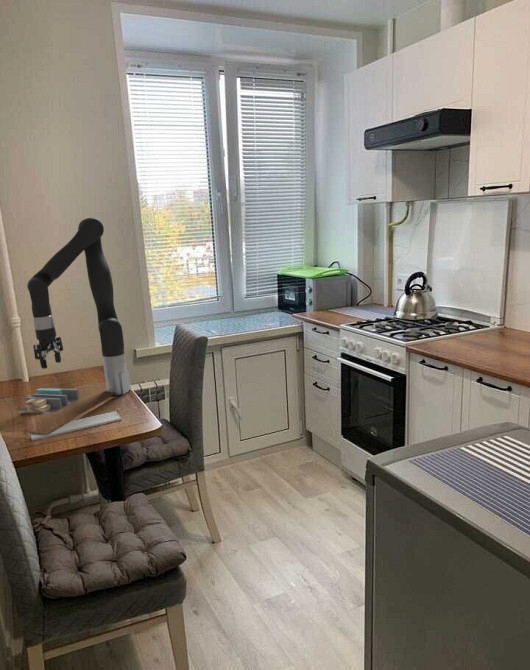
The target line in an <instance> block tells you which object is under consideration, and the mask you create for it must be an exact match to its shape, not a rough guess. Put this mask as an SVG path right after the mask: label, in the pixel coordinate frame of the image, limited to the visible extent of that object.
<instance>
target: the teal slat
mask: <svg viewBox="0 0 530 670" xmlns="http://www.w3.org/2000/svg"><path fill="white" fill-rule="evenodd" d="M62 389H63V388H56V389H46V388H43V387H42V388H38V389H36V394H52V395H63V394H62Z"/></svg>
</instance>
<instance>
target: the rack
mask: <svg viewBox="0 0 530 670" xmlns="http://www.w3.org/2000/svg"><path fill="white" fill-rule="evenodd" d="M45 389H57V388H55V387H54V388H53V387H52V388H51V387H46V388H45ZM61 389H62V394H63V395H52V394H37V393H32V396H26V397H25V402H26V401H28V400H30V399H46V401H47V404H50V406H51V409H50V410H48V411H46V412H44V413H41V412H27V407H25V408H22V409H21V410H18V413H20V414H21V413H24V414H25V413H26V414H40V415H41V414H42V415H44V414H45V415H52V414H54V413H56V412H58V411H60V410H61V409H63V408H65V407H67V406H69V405H70V404H72V403H74V402H76V401H78V400H80V398H81V397H80V391H79V389H77V388H76V389H75V388H61Z"/></svg>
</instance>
